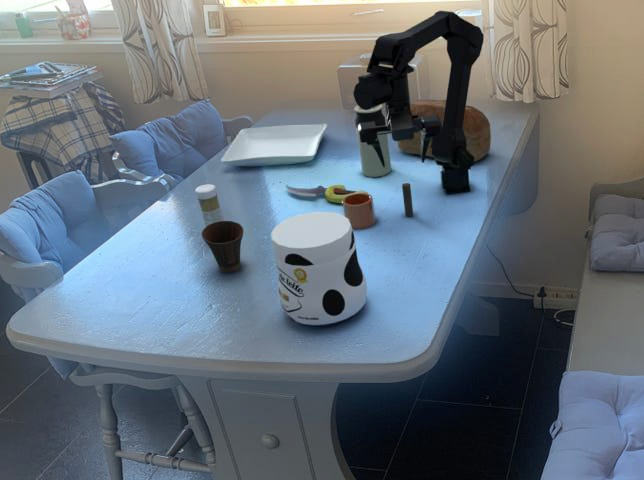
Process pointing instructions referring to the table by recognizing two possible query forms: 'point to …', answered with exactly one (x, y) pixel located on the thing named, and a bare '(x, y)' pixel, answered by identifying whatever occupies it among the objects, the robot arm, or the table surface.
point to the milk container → (318, 269)
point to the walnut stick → (407, 199)
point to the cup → (225, 243)
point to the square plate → (275, 145)
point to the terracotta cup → (359, 210)
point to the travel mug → (367, 152)
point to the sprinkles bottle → (209, 204)
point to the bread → (473, 123)
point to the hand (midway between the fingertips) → (403, 164)
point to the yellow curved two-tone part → (325, 192)
